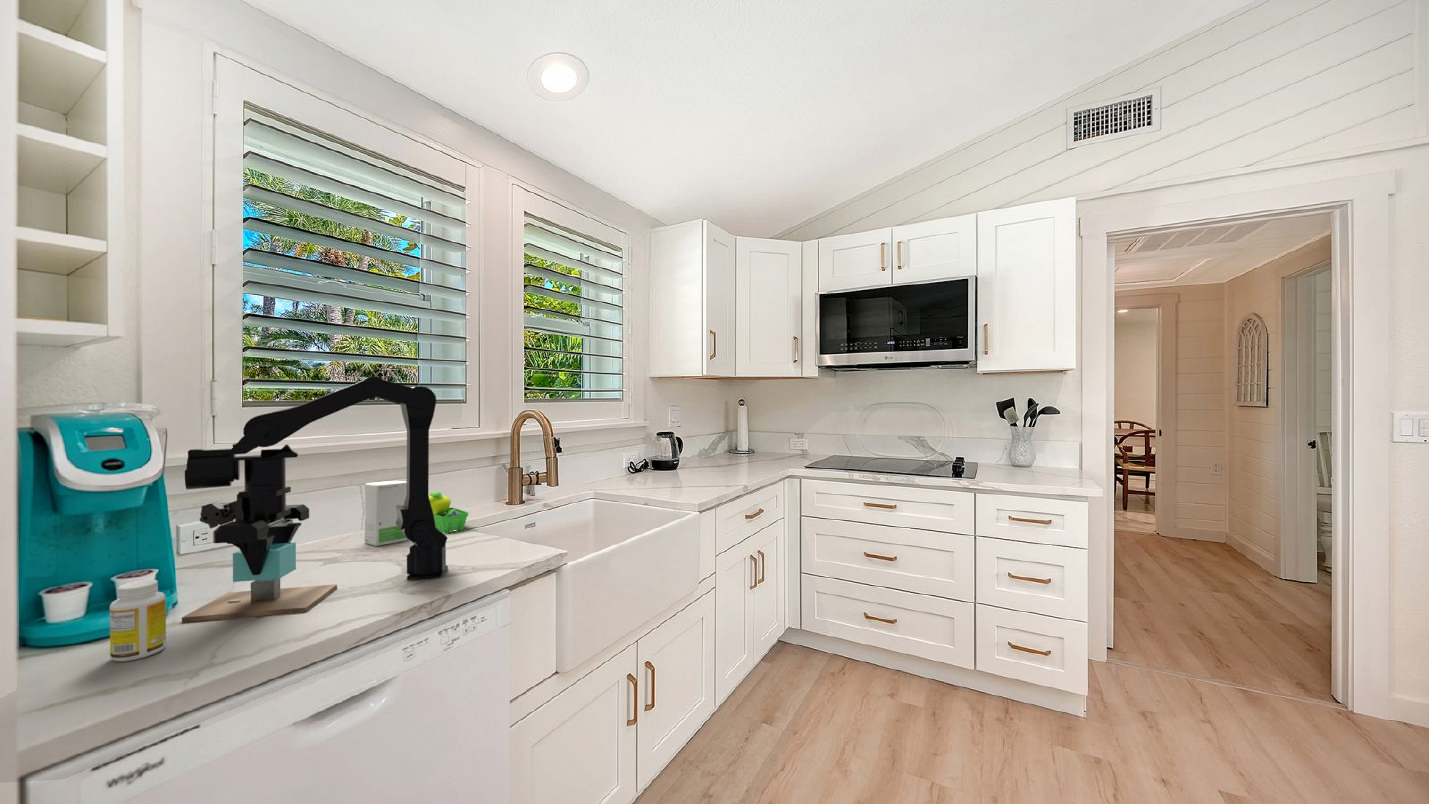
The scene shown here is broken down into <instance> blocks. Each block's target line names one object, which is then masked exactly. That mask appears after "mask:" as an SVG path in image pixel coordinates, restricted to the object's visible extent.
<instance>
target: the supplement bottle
mask: <svg viewBox="0 0 1429 804" xmlns="http://www.w3.org/2000/svg"><path fill="white" fill-rule="evenodd" d="M158 583H159V581H158V580H156V579H143V580H138V581H137V580H136V581H132V582H127V583H125V584H124V583H123V584H122V585H120V586H118V587H117V599H115V600H114V601H112V602H111V603H110V604H109V635H110V636H109V638H110V639H109V644H110V645H109V649H110V650H109V651H110V652H109V653H110V658H111V660H112V661H114V662H129V661H134V660H140V659H143V658H144V659H145V658H147V657H150V656H152V655H155V654H157V653H159V652H161V651H162V650H163V649H164V648H165V647H166V646H167V607H166V606H167V605H166V603H167V602H166V601H167V600H166V599H167V597H166V595H165V593H164V592H161V591H159V584H158Z"/></svg>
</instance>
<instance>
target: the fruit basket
mask: <svg viewBox="0 0 1429 804" xmlns="http://www.w3.org/2000/svg"><path fill="white" fill-rule="evenodd" d="M429 500H430V503H431V507H432V510H433V515H434V520H435V525H436V528H437V529H438V530H439V531H441V532H442V533H443V532H444V533H443V534H448V533H447V532H450V531H453V530H462V531H464V528H465V524H466V523H467V517H468V516H469V511H466V510H463V509H459V508H456V507H450V505H451V502H452V501H451V499H450V498H449V497H447V496H445V495H444V494H442V493H441V492H440V491H435V492H431V493H430V494H429ZM450 533H451V532H450Z"/></svg>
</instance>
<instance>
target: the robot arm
mask: <svg viewBox="0 0 1429 804" xmlns="http://www.w3.org/2000/svg"><path fill="white" fill-rule="evenodd" d="M373 397H374V398H377V399H380V400H384V401H387V402H390V403H394V404H396V405H400V409H401V414H402V417H403V421H404V424H405V428H406V482H407V494H406V499H405V502H404V505H396V509H397V515H398V517H397V521H396V523H395V524H396V525H397V526H398V527H399V528H400V530H401V532H402V533H403V534H404V535H405V537H406V538H407V539H408V540H409V541H410V542H412V545H411V546H409V553H408V554H406V575H407V576H406V579H407V580H416V579H417V580H418V579H428V578H429V579H431V578H440V577H442V576H443V575H444V574H445V573H446V571H447V570H448V569H449V566H448V565H446V564H447V563H446V562H447V561H446V560H447V553H446V552H447V549H446V548H447V546H446V543H447V540H448V537H447V536H446V535H445V533H443V532H441V531H439V530H438V529H437V528H436V525H435V520H434V515H433V510H432V507H431V503H430V500H429V497H430V494H429V483H430V482H429V478H430V477H429V472H430V470H429V466H430V465H429V463H430V461H429V459H430V458H429V457H430V456H429V455H430V453H429V451H430V450H429V449H430V448H429V446H430V445H429V444H430V443H429V442H430V438H429V437H430V436H429V435H430V428H431V425H432V421H433V418H434V416H435V415H434V414H435V411H436V410H435V409H436V405H437V397H436V393H435V392H434V391H433V390H431V389H430V388H428V387H426V386H423V385H422V386H421V385H419V386H411V387H410V386H407V385H403V384H400V383H396V382H393V381H389V380H385V379H382V378H381V377H378V376H368V377H365V378H364V379H362V380H360V381H359V382H356V383H353V384H351V385H349V386H346V387H343V388H341V389H339V390H336V391H334V392H331V393H328V394H326V395H323V396H320V397H318V398H316V399H313V400H311V401H308V402H305V403H303V404H300V405H297V406H293V407H289V408H285V409H280V410H275V411H272V412H267V413H263V414H259V415H256V416H254V417H252V418H250V419H249V420H248V421H247V422H246V423H245V425H244V427H243V429H242V430H243V436H242V437H241V438H240V439H239V440H238V442H234V443H233V444H232V448H218V449H217V448H216V449H204V448H191V449H189V450H188V451H187V460H186V467H185V468H186V469H185V470H184V486H185V488H186V490H198V489H200V490H201V489H214V488H225V487H232V483H233V482H235V481H239V480H240V477H241V463H240V462H241V461H243V463H244V467H243V468H244V470H243V471H244V475H243V476H244V490H241V491H238V493H237V494H236V500H234V501H232V502H229V503H225V504H221V503H220V502H218V501H215V502H211V503H208V504H205V505H202V506H201V511H200V513H199V515H200V517H199V522H200V523H204V524H206V525H208V527H209V529H213V528H215V530H213V531H212V533H213V534H212V535H213V538H212V541H213V542H212V544H227V545H233V547H236V548H238V549H239V551H240V550H241V552H242V554H243V555H244V558H245V560H246V562H247V564H248V566H249V569H250V571H251V573H252V575H259V574H261V572H262V569H263V567H264V564H265V561H266V558H267V555H268V552H269V550H270V547H271V544H279V543H292V540H293V538H294V537H295V535H296V534H297V531H298V529H299V528H300V527H301V526H302V522H303V521H305V520H308V519H309V518H310V508H309V507H307V505H305V504H287V500H286V499H287V493H291V491H292V490H291V488H292V487H291V486H290V485H289V486H287V485H286V477H287V476H286V472H287V471H286V459H289V458H290V459H292V458H298V456H299V454H298V452H297V451H295V450H294V449H292V448H291V446H290V445H289V444H287V443H286V444H284V446H283V447H281V448H275V449H274V448H269V447H272V446H275V445H277V444H278V443H280V442H281V441H283V440H285V439H287V438H288V437H290V436H291V435H293V434H295V433H296V432H298V431H300V430H302V428H304V427H306V426H307V425H309V424H311V423H312V422H315V421H316V422H317V421H318V420H321V419H323V418H325V417H328V416H330V415H332V414H335V413H337V412H339V411H342V410H344V409H348V408H349V407H352V406H354V405H356V404H358V403H359V404H360V403H361V402H364V401H365V400H368V399H370V398H373ZM259 447H260V448H269V449H261V450H260V454H258V455H256V454H255V455H245V454H248V453H249V452H251V451H253V450H255V449H256V448H259ZM237 455H239V456H237ZM240 455H241V456H240ZM296 519H298V521H299V522H294V520H296ZM300 521H301V522H300ZM216 527H217V528H216Z"/></svg>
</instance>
